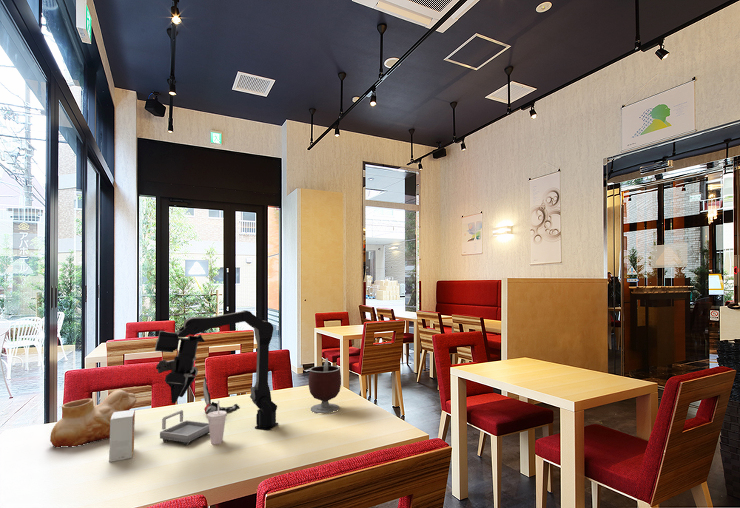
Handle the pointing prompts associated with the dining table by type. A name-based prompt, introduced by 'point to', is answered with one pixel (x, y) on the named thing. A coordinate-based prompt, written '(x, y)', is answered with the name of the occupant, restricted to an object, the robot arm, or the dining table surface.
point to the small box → (121, 435)
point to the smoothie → (216, 425)
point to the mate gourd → (324, 386)
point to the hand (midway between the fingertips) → (177, 399)
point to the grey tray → (183, 429)
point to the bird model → (213, 406)
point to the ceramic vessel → (89, 419)
